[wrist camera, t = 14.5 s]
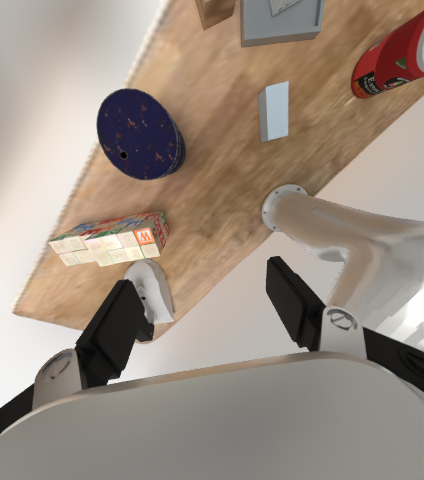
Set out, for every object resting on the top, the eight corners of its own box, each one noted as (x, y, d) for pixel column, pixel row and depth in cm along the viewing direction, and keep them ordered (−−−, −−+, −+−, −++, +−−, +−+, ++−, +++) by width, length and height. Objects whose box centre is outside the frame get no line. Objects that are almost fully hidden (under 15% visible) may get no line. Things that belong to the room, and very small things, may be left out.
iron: (145, 315, 55) (128, 364, 41) (121, 260, 44) (88, 302, 30) (175, 311, 55) (168, 358, 42) (159, 255, 44) (142, 295, 31)
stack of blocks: (92, 245, 41) (53, 275, 30) (79, 224, 38) (31, 248, 27) (170, 231, 41) (160, 256, 30) (163, 209, 38) (149, 228, 27)
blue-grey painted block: (257, 96, 30) (265, 87, 26) (277, 90, 30) (288, 80, 26) (260, 142, 34) (268, 140, 30) (278, 138, 33) (288, 135, 30)
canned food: (342, 93, 31) (410, 61, 21) (367, 36, 27) (461, -35, 18) (372, 104, 32) (449, 78, 22) (399, 51, 29) (505, -8, 19)
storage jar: (162, 108, 29) (134, 62, 16) (195, 154, 33) (194, 148, 20) (127, 143, 31) (77, 129, 18) (162, 183, 35) (141, 195, 22)
